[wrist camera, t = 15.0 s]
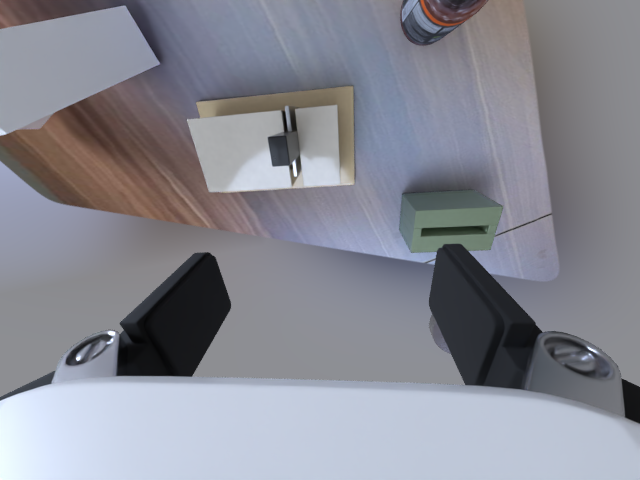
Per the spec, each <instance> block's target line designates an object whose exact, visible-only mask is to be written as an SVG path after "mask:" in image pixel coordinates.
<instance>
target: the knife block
mask: <svg viewBox="0 0 640 480" xmlns="http://www.w3.org/2000/svg"><path fill="white" fill-rule="evenodd" d="M502 210H503V206H502V205H500V204H498V203H496V202H495V201H493V200H491V199H489V198H487V197H486V196H484V195H482V194H480V193H479V192H477V191H475V190H458V191H441V192H423V193H406V194H402V202H401V214H400V226H399V230H400V232H401V234H402V236H403V238H404V240H405V242H406V244H407V246H408V248H409V250H410V252H411V253H417V252H437V250H438V248H442V246H443V245H444V244H462V245H463V246H464V247H465V248H466V249H467V251H477V250H491V246H492V243H493V240H494V236H495V232H496V229H497V226H498V223H499V220H500V216H501V213H502Z"/></svg>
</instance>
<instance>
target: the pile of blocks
mask: <svg viewBox="0 0 640 480" xmlns="http://www.w3.org/2000/svg"><path fill="white" fill-rule="evenodd" d="M159 64H160V63H159V61H158V60H157V58H156V56H155V55H154V53H153V51H152V49H151V48H150V46H149V44H148V43H147V41H146V39H145V38H144V36H143V34H142V33H141V31H140V29H139V28H138V26H137V24H136V23H135V21H134V19H133V18H132V16H131V14H130V13H129V11H128V9H127V8H126V6H119V7H114V8H109V9H104V10H98V11H93V12H88V13H83V14H77V15H72V16H67V17H62V18H57V19H51V20H46V21H41V22H36V23H30V24H25V25H20V26H15V27H9V28H4V29H0V135H4V134H8V133H10V132H12V131H15V130H17V129H40V128H41V127H42V126H43V125H44V124H45V123H46V121H47V120H48V119H49V118H50V117H51V116H52V115H53V114H54V112H56V111H59V110H61V109H63V108H65V107H67V106H70V105H72V104H74V103H76V102H78V101H80V100H83V99H85V98H87V97H89V96H91V95H94V94H96V93H98V92H100V91H102V90H105V89H107V88H109V87H111V86H113V85H116V84H118V83H120V82H122V81H124V80H127V79H129V78H131V77H133V76H135V75H138V74H140V73H142V72H144V71H146V70H149V69H151V68H153V67H155V66H157V65H159Z"/></svg>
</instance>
